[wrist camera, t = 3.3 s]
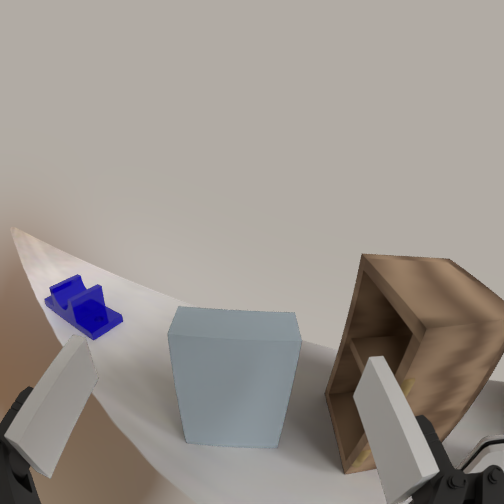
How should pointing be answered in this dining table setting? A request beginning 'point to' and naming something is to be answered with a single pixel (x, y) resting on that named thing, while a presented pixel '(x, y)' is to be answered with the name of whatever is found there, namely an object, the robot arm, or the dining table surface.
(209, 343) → the upright grey-blue slab
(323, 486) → the dining table surface
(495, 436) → the white rounded housing
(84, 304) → the mounting bracket
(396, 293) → the cabinet
